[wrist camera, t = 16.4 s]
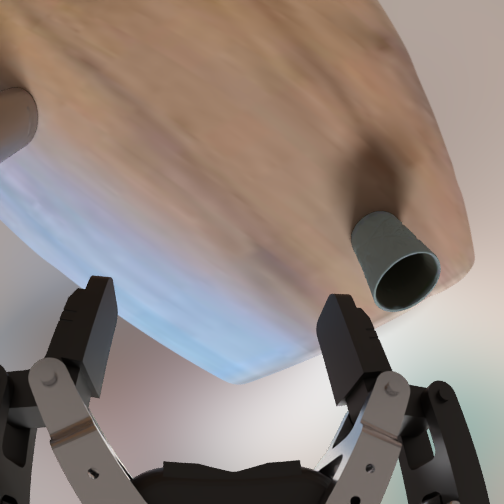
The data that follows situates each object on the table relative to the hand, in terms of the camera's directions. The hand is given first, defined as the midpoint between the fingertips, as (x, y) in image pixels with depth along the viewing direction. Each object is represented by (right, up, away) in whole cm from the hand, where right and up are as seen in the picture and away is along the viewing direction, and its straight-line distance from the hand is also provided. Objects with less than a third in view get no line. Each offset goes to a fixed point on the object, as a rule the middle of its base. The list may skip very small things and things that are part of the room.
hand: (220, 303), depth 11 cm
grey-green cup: (+20, +5, +35) cm, 41 cm away
